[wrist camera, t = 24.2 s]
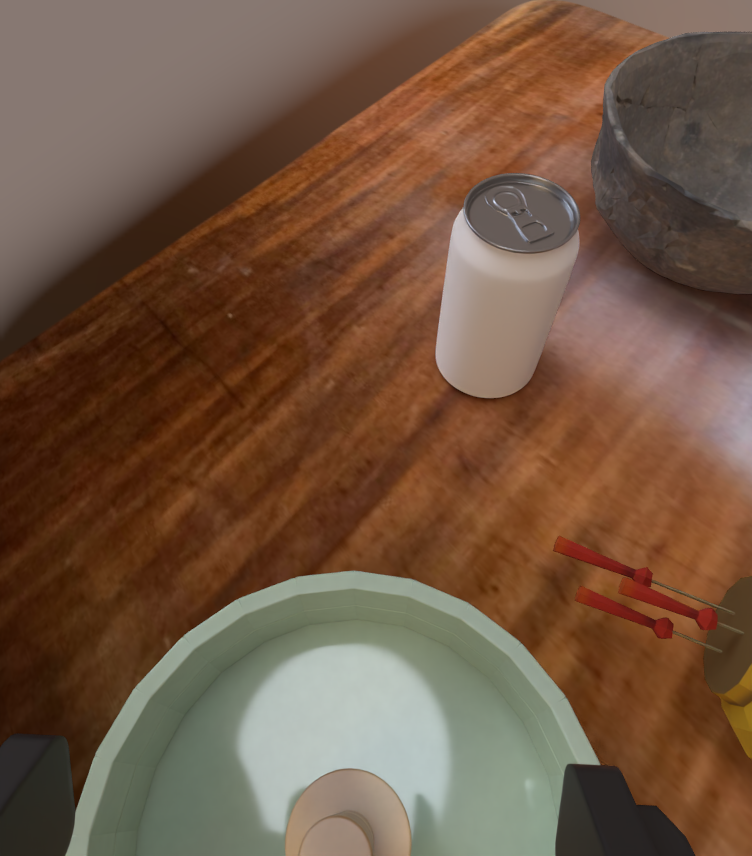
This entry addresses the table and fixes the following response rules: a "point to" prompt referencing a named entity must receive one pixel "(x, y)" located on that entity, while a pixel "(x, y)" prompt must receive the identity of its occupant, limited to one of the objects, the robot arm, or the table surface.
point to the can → (504, 282)
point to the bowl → (681, 159)
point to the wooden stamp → (348, 818)
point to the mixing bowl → (335, 726)
